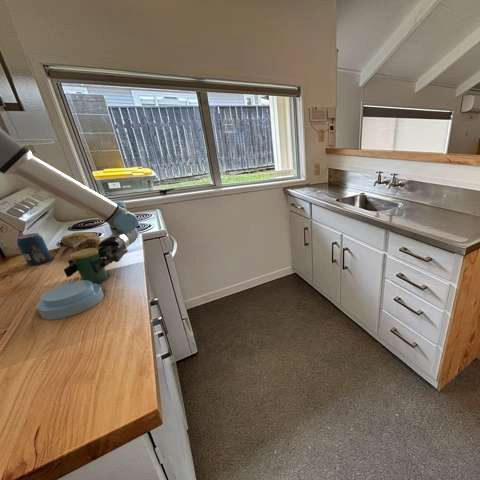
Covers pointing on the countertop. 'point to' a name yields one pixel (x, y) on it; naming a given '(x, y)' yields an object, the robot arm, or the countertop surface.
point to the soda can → (34, 249)
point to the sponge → (81, 240)
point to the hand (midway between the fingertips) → (81, 271)
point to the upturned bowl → (69, 299)
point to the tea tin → (89, 265)
